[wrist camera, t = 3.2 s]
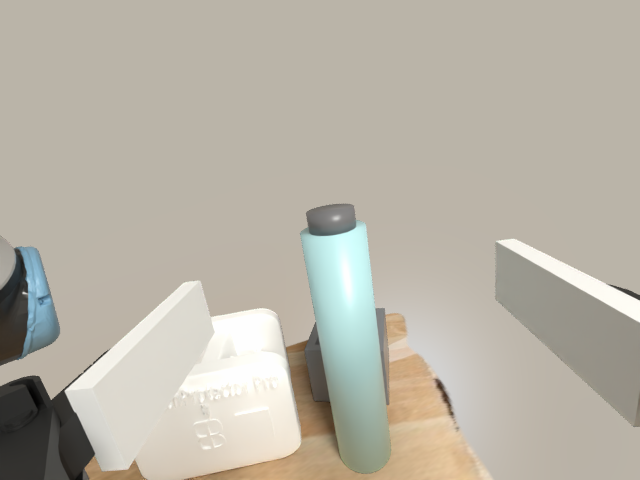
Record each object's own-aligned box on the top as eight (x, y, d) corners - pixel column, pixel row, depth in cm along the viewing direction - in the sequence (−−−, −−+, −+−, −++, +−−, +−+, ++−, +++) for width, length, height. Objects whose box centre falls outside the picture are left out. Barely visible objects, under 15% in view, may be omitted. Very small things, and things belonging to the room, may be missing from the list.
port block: (313, 400, 36) (304, 350, 34) (327, 353, 44) (320, 309, 42) (389, 404, 34) (383, 351, 32) (389, 353, 42) (384, 308, 40)
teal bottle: (335, 470, 28) (288, 221, 21) (342, 423, 33) (306, 205, 26) (391, 476, 27) (360, 213, 20) (391, 426, 31) (365, 199, 25)
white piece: (300, 383, 39) (284, 302, 36) (305, 464, 29) (283, 361, 26) (181, 407, 38) (152, 326, 35) (143, 499, 28) (98, 397, 25)
